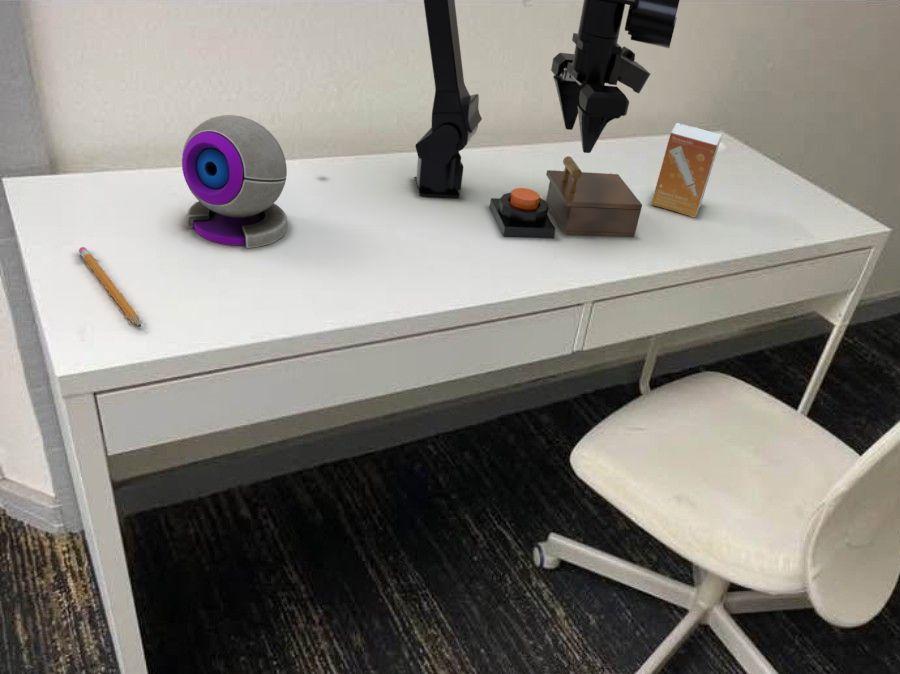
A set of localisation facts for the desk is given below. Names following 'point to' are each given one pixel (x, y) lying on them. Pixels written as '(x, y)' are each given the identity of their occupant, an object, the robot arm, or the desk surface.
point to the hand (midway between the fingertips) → (577, 140)
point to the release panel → (521, 219)
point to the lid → (591, 188)
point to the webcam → (235, 182)
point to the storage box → (592, 218)
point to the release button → (524, 198)
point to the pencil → (110, 286)
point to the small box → (686, 169)
